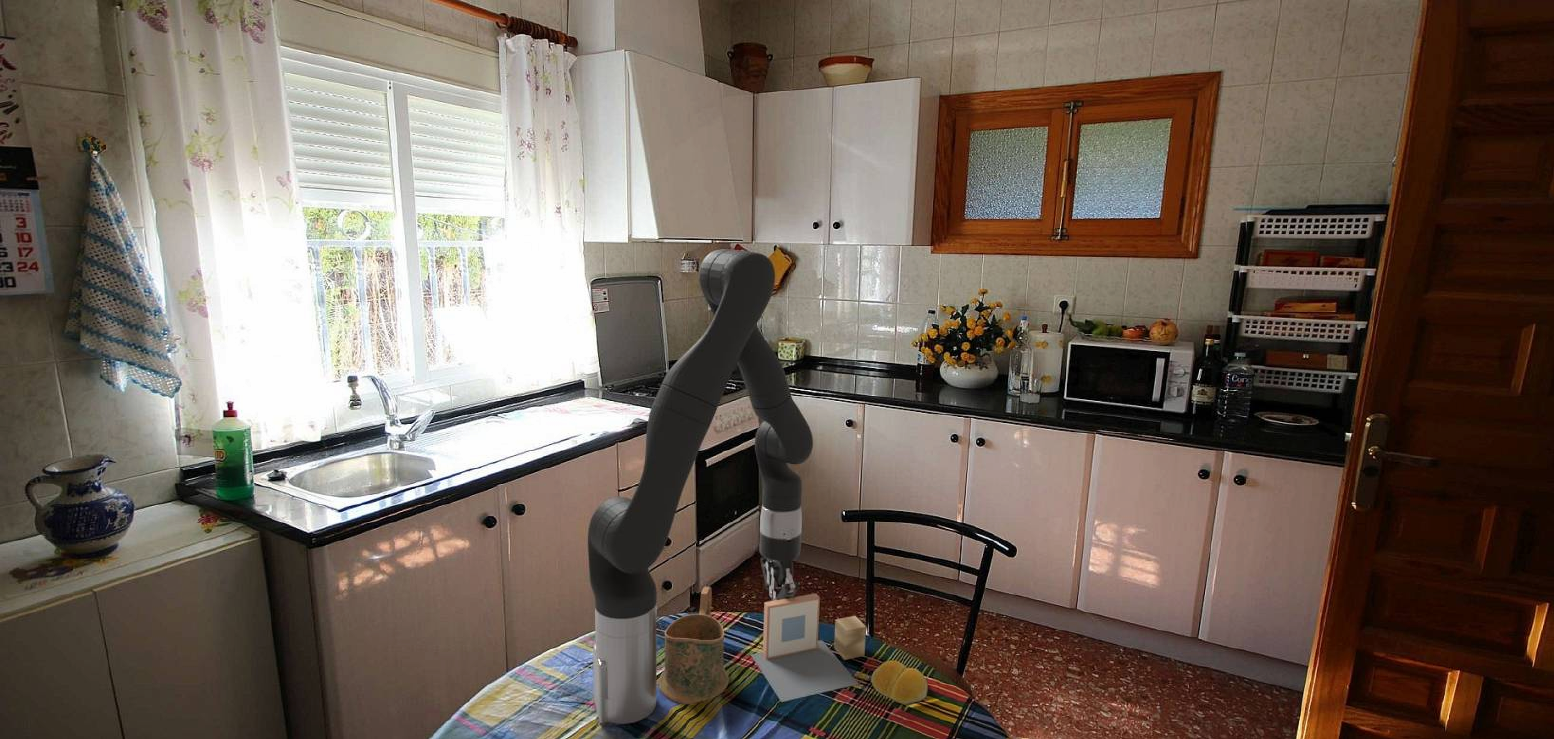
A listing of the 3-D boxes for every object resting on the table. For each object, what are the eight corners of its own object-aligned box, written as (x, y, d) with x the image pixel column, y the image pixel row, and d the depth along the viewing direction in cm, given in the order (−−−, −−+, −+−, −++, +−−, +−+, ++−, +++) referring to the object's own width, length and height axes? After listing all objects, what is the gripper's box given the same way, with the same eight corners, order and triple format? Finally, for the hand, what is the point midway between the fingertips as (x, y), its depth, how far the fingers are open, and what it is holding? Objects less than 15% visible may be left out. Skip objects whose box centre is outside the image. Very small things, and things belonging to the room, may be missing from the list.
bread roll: (914, 713, 112) (915, 690, 112) (864, 691, 118) (865, 669, 117) (936, 688, 119) (937, 666, 118) (888, 668, 124) (889, 647, 123)
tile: (766, 660, 124) (768, 607, 123) (762, 654, 126) (764, 602, 124) (817, 649, 128) (820, 597, 126) (813, 644, 130) (816, 593, 128)
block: (844, 662, 125) (845, 630, 124) (834, 650, 129) (835, 619, 128) (864, 657, 127) (866, 626, 126) (853, 645, 130) (855, 615, 129)
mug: (739, 645, 129) (740, 584, 127) (722, 707, 112) (723, 637, 110) (676, 640, 130) (677, 579, 128) (650, 700, 113) (650, 631, 111)
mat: (781, 704, 113) (781, 701, 113) (750, 656, 126) (750, 654, 126) (858, 685, 118) (858, 683, 118) (821, 642, 131) (821, 640, 131)
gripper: (748, 518, 133) (745, 603, 136) (775, 546, 121) (772, 639, 124) (784, 513, 136) (781, 597, 139) (815, 540, 124) (811, 631, 127)
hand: (777, 617), depth 132 cm, fingers closed
